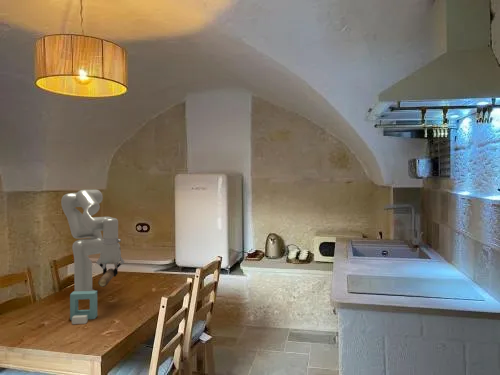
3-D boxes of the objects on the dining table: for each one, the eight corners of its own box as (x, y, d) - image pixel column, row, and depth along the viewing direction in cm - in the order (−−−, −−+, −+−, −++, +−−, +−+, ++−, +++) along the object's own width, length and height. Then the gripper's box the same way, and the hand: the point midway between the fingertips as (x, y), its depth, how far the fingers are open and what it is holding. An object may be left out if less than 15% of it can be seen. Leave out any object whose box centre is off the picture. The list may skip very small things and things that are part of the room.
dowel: (106, 276, 213) (107, 268, 213) (115, 276, 214) (115, 268, 214) (96, 287, 191) (97, 278, 191) (106, 288, 192) (107, 279, 192)
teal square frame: (73, 316, 191) (73, 291, 191) (97, 315, 193) (97, 290, 193) (70, 320, 186) (70, 294, 186) (94, 319, 188) (94, 293, 188)
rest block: (73, 322, 184) (73, 315, 184) (87, 321, 185) (87, 314, 185) (71, 324, 181) (71, 317, 181) (85, 323, 182) (85, 317, 182)
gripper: (128, 240, 216) (127, 274, 216) (95, 240, 214) (95, 274, 214) (125, 242, 209) (125, 277, 209) (92, 242, 206) (91, 278, 207)
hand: (110, 275), depth 212 cm, fingers closed on dowel, 4 cm apart
